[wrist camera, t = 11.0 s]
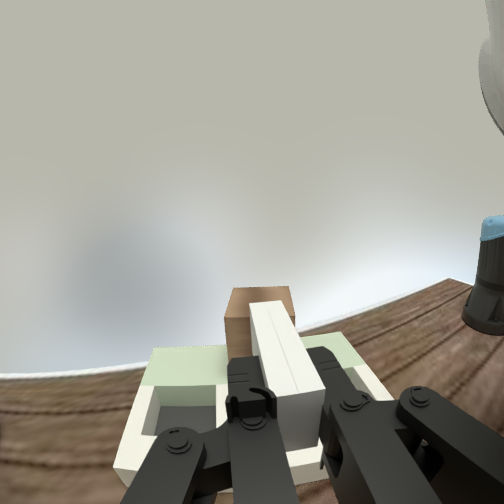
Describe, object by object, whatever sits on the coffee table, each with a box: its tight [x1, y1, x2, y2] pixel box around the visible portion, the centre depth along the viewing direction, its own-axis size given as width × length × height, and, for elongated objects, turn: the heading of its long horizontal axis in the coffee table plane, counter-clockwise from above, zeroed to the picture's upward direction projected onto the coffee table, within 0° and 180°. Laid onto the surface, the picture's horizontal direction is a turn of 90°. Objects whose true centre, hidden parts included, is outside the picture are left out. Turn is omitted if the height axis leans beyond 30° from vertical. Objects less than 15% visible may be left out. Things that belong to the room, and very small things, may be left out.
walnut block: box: [224, 286, 295, 362], centre depth 38 cm, size 8×10×9 cm
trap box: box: [113, 332, 394, 493], centre depth 32 cm, size 30×24×4 cm
